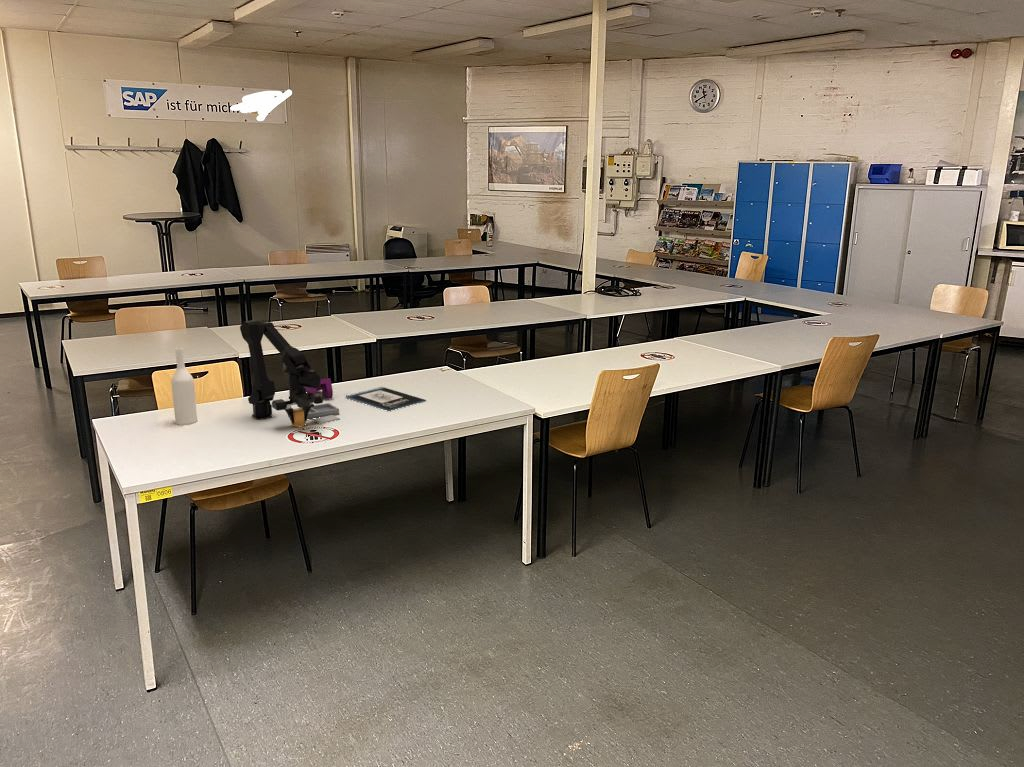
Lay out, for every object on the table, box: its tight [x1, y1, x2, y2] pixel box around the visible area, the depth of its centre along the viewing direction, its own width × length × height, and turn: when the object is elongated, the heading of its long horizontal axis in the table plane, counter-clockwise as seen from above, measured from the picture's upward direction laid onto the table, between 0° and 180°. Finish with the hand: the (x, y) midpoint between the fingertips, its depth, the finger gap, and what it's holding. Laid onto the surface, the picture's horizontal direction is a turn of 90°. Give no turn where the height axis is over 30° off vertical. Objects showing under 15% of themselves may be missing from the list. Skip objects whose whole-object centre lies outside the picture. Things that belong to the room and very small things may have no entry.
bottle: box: [170, 347, 198, 426], centre depth 300 cm, size 8×8×30 cm
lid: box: [312, 415, 341, 425], centre depth 309 cm, size 9×6×1 cm, turn 135°
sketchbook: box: [345, 386, 427, 412], centre depth 338 cm, size 22×30×2 cm
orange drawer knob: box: [291, 408, 307, 428], centre depth 301 cm, size 5×5×6 cm
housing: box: [293, 402, 340, 421], centre depth 314 cm, size 18×10×2 cm, turn 127°
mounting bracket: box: [305, 378, 334, 400], centre depth 341 cm, size 10×8×18 cm
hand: (298, 422), depth 302 cm, fingers closed on orange drawer knob, 4 cm apart
